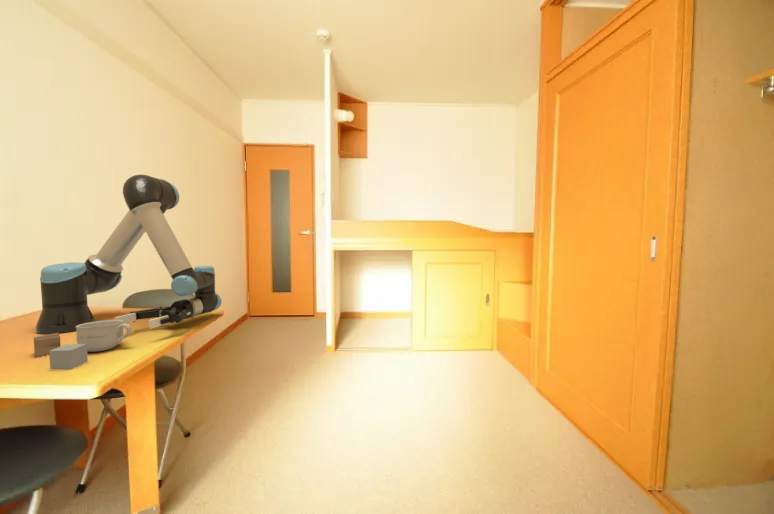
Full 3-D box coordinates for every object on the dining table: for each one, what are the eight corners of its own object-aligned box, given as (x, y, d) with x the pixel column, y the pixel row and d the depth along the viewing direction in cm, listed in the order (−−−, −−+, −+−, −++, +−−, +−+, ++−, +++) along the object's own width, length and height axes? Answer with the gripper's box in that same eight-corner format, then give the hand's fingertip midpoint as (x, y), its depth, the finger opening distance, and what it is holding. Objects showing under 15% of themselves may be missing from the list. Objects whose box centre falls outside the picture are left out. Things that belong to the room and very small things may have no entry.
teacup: (66, 353, 93) (65, 326, 93) (104, 341, 104) (103, 317, 103) (108, 357, 91) (107, 329, 91) (142, 344, 102) (141, 319, 101)
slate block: (50, 370, 82) (49, 350, 82) (67, 362, 87) (66, 344, 87) (72, 369, 83) (71, 350, 82) (87, 361, 88) (86, 343, 87)
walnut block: (34, 353, 93) (33, 336, 93) (59, 349, 97) (58, 332, 96) (35, 358, 90) (34, 340, 89) (60, 353, 94) (60, 336, 93)
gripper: (214, 320, 123) (165, 337, 102) (159, 316, 128) (102, 331, 107) (213, 300, 122) (164, 313, 102) (159, 297, 128) (101, 309, 107)
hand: (132, 323), depth 105 cm, fingers open, 13 cm apart
